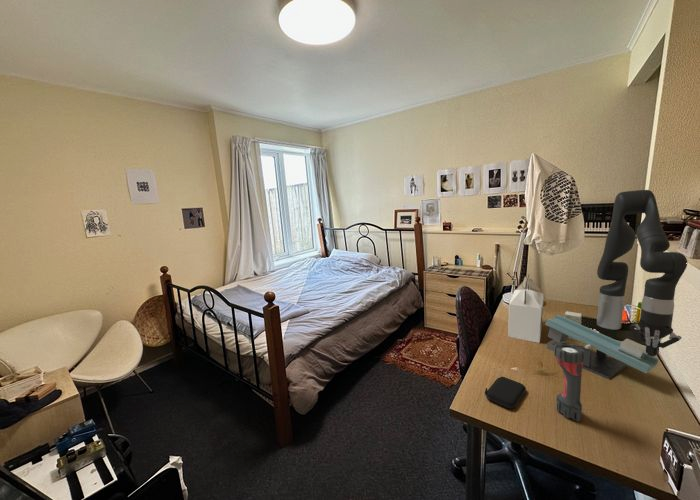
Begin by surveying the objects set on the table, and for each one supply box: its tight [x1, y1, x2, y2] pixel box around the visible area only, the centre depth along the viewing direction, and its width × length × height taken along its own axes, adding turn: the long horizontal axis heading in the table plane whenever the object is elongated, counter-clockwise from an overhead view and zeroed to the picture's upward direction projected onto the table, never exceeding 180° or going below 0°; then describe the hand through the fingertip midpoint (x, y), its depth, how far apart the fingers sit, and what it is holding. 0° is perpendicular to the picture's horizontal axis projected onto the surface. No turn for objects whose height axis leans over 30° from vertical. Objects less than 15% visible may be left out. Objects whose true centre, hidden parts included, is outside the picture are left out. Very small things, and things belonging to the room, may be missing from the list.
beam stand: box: [546, 339, 628, 380], centre depth 121 cm, size 15×24×8 cm, turn 27°
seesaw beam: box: [545, 314, 660, 374], centre depth 117 cm, size 14×34×9 cm, turn 27°
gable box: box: [507, 274, 545, 344], centre depth 145 cm, size 22×13×28 cm, turn 144°
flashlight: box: [553, 341, 585, 423], centre depth 92 cm, size 8×8×23 cm
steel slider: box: [618, 338, 647, 361], centre depth 106 cm, size 5×6×5 cm
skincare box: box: [563, 311, 583, 341], centre depth 136 cm, size 6×4×12 cm
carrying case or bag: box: [484, 376, 527, 410], centre depth 104 cm, size 11×3×15 cm
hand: (651, 355), depth 101 cm, fingers closed
